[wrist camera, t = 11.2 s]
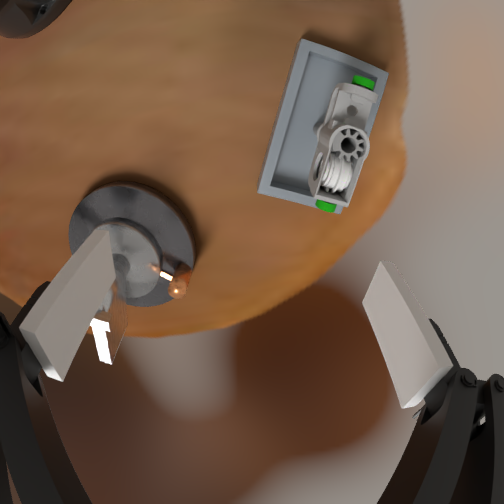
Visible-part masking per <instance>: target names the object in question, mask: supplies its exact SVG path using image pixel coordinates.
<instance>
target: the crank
mask: <svg viewBox="0 0 504 504" xmlns="http://www.w3.org/2000/svg"><path fill="white" fill-rule="evenodd" d="M95 229H97V230H107V231H109V236H110V243H111V250H112V257H113V263H114V269H115V275H116V278H115V280H114V282H113V284H112V285H111V287H110V289H109V290H108V292H107V294H106V296H105V298H104V299H103V301H102V303H101V305H100V307H99V308H98V310H97V312H96V314H95V316H94V318H93V320H92V322H91V323H90V326H92V329H93V333H94V338H95V342H96V346H97V350H98V354H99V358H100V361H103V362H106V363H110V364H112V362H113V360H114V357H115V355H116V352H117V349H118V347H119V344H120V342H121V339H122V337H123V335H124V332H125V330H126V327H127V325H128V322H127V308H126V298H137V297H141V296H144V295H146V294H148V293H149V292H150V291H152V290H153V288H154V287H155V286H156V284H157V282H158V279H159V277H160V274H161V272H162V269H163V254H162V250H161V247H160V245H159V243H158V241H157V240H156V238H155V237H154V236H153V235H152V233H151V232H150V231H149V230H147V229H146V228H145V227H144V226H142V225H141V224H139V223H137V222H135V221H133V220H131V219H127V218H121V217H114V218H109V219H106V220H104V221H102V222H100V223H99V224H98V225H97V226H96V227H95V228H94V229H93V230H92V231H91V232H90V233H89V235H88V236H87V237H86V239H87V238H88V237H89V236H90V235H91V234H92V233H93V231H94V230H95ZM86 239H85V240H86ZM84 242H85V241H84Z"/></svg>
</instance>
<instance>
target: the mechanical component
mask: <svg viewBox="0 0 504 504" xmlns="http://www.w3.org/2000/svg"><path fill="white" fill-rule="evenodd" d="M374 84H375V82H373V81H372V80H370V79H367V78H364V77H361V76H357V75H354V76H353V79H352V83H351V84H349V83H338V84H337V85H336V86H335V88H334V90H333V92H332V95H331V98H330V102H329V105H328V109H327V112H326V116H325V120H324V123H321V122H319V123H316V124H315V125H314V126H313V132H314V134H315V135H316V136H317V140H318V144H317V148H316V151H315V154H314V158H313V161H312V165H311V168H310V172H309V178H308V184H309V187H310V191H311V193H312V195H313V197H314V198H315V199H317V200H316V203H315V205H316V207H318V208H319V209H321V210H324V211H327V212H335V209H336V206H337V204H338V205H341V206H345V207H348V205H349V203H350V200H351V197H352V194H353V192H354V189H355V186H356V183H357V180H358V177H359V174H360V171H361V168H362V165H363V162H364V160H365V159H366V157H367V156H368V153H369V149H370V143H369V139H368V137H367V133H368V132H366V131H364V130H365V127H366V123H367V120H368V117H369V113H370V110H371V106H372V103H376V102H377V98H378V95H377V94H376V93H374V92H372V91H373V88H374ZM352 163H353V165H352ZM347 186H348V187H347ZM346 187H347V188H346ZM345 188H346V189H345Z"/></svg>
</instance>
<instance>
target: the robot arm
mask: <svg viewBox="0 0 504 504" xmlns="http://www.w3.org/2000/svg"><path fill="white" fill-rule="evenodd" d="M70 1H71V0H0V35H1V36H3V37H6V38H27V37H30V36H32V35H34V34H36V33H38V32H40V31H41V30H43V29H44V28H45V27H47V26H48V25H49V24H50V23H51V22H52V21H54V20H55V19H56V18H57V17H58V16H59V15H60V14H61V12H62V11H63V10H64V9H65V8H66V7H67V5H68V4H69V3H70ZM115 278H116V275H115V269H114V263H113V257H112V250H111V243H110V236H109V231H107V230H97V229H95V230H94V231H93V233H92V234H91V235H90V236H89V237H88V238H87V239H86V240H85V242H84V243H83V244H82V245H81V246H80V247H79V248H78V250H77V251H76V252H75V253H74V254H73V255H72V257H71V258H70V259H69V260H68V262H67V263H66V264H65V265H64V266H63V268H62V269H61V270H60V271H59V273H58V274H57V275H56V276H55V278H54V279H53V280H52V282H49V281H46V282H45V283H43V284H42V285H41V286H39V287H38V288H37V289H36V290H35V292H34V293H33V294H32V296H31V298H29V300H28V301H27V302H26V305H24V307H23V308H22V309H21V311H20V312H19V314H18V315H17V317H16V318H15V320H14V321H13V322H12V324H11V325H9V323H8V321H7V320H6V318H5V316H4V314H2V313H1V312H0V504H13V501H12V496H11V492H10V485H9V479H8V472H7V465H8V468H9V471H10V474H11V477H12V480H13V483H14V485H15V488H16V491H17V493H18V496H19V498H20V501H21V503H22V504H92V502H91V500H90V499H89V497H88V495H87V493H86V492H85V490H84V488H83V486H82V484H81V482H80V480H79V478H78V476H77V474H76V472H75V470H74V468H73V466H72V463H71V461H70V459H69V457H68V455H67V452H66V450H65V447H64V445H63V443H62V440H61V438H60V435H59V432H58V430H57V427H56V424H55V421H54V419H53V416H52V413H51V410H50V406H49V403H48V400H47V397H46V393H45V390H44V386H43V382H42V379H41V377H40V375H39V372H40V370H41V368H43V370H44V371H45V373H46V374H47V376H49V377H51V378H54V379H57V380H59V381H63V380H64V377H65V375H66V373H67V371H68V369H69V366H70V364H71V362H72V360H73V358H74V356H75V354H76V351H77V349H78V347H79V345H80V343H81V341H82V339H83V337H84V335H85V333H86V331H87V329H88V327H89V325H90V323H91V322H92V320H93V318H94V316H95V314H96V312H97V310H98V308H99V307H100V305H101V303H102V301H103V299H104V298H105V296H106V294H107V292H108V290H109V289H110V287H111V285H112V284H113V282H114V280H115ZM362 303H363V306H364V308H365V311H366V313H367V315H368V318H369V320H370V322H371V325H372V328H373V330H374V333H375V335H376V338H377V340H378V343H379V345H380V348H381V351H382V353H383V356H384V359H385V361H386V364H387V367H388V369H389V372H390V375H391V378H392V380H393V384H394V386H395V389H396V392H397V395H398V398H399V401H400V404H401V407H402V408H407V407H413V406H416V405H417V404H418V403H419V402H420V401H421V400H422V399H423V398H424V400H425V402H426V404H425V405H424V406H423V407H422V408H421V409H420V410H419V411H418V412H416V413H415V414H414V416H413V418H415V417H417V416H418V415H419V414H420V415H419V417H418V419H417V423H416V426H415V428H414V431H413V433H412V435H411V437H410V440H409V442H408V444H407V447H406V449H405V451H404V453H403V455H402V458H401V460H400V462H399V464H398V466H397V468H396V470H395V472H394V474H393V476H392V478H391V479H390V481H389V483H388V485H387V487H386V489H385V491H384V492H383V494H382V496H381V497H380V499H379V501H378V502H377V504H504V378H503V377H502V376H500V375H499V374H493V375H492V376H491V377H490V378H489V379H488V380H487V381H482V380H477V378H476V376H475V375H474V373H473V372H471V371H470V370H469V369H466V368H461V367H460V365H459V363H458V361H457V359H456V358H455V356H454V354H453V352H452V350H451V348H450V346H449V344H447V341H446V339H445V337H443V333H442V332H441V330H440V328H439V327H438V325H437V324H435V322H434V321H433V320H432V319H428V317H427V316H426V314H425V312H424V311H423V309H422V307H421V306H420V304H419V302H418V301H417V299H416V297H415V296H414V294H413V293H412V291H411V289H410V288H409V286H408V285H407V283H406V281H405V280H404V278H403V277H402V275H401V274H400V272H399V271H398V269H397V268H396V266H395V265H394V263H393V262H389V261H380V263H379V265H378V268H377V270H376V273H375V275H374V277H373V279H372V282H371V284H370V286H369V289H368V291H367V293H366V295H365V298H364V300H363V302H362ZM484 416H485V421H486V422H484V423H483V424H482V425H480V419H482V418H483V417H484ZM6 462H7V465H6Z"/></svg>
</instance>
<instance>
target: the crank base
mask: <svg viewBox="0 0 504 504" xmlns="http://www.w3.org/2000/svg"><path fill="white" fill-rule="evenodd" d="M114 217H121V218H127V219H131V220H133V221H135V222H137V223H139V224H141V225H142V226H144V227H145V228H146V229H147V230H149V231H150V232H151V233H152V235H153V236H154V237H155V238H156V240H157V241H158V243H159V245H160V247H161V250H162V254H163V269H162V272H161V274H160V277H159V279H158V282H157V284H156V286H155V287H154V288H153V290H152V291H150V292H149V293H148V294H146V295H144V296H141V297H137V298H126V304H128V305H132V306H140V307H149V306H156V305H160V304H163V303H166V302H168V301H170V300H172V299H174V298H176V299H181V298H183V297H184V296H185V294H186V291H187V287H188V284H189V280H190V277H191V273H192V270H193V267H194V263H195V257H196V245H195V240H194V235H193V232H192V229H191V227H190V225H189V223H188V221H187V219H186V217H185V216H184V214H183V213H182V212H181V210H180V209H179V208H178V207H177V206H176V204H174V203H173V202H172V201H171V200H170V199H169V198H168V197H166V196H165V195H164V194H162V193H161V192H159V191H157V190H155V189H154V188H152V187H149V186H147V185H144V184H140V183H136V182H129V181H117V182H112V183H108V184H106V185H103V186H101V187H99V188H97V189H96V190H94V191H93V192H92V193H90V194H89V195H88V196H87V197H85V198H84V199H83V200H82V201H81V202H80V203H79V205H78V206H77V207H76V209H75V211H74V213H73V215H72V217H71V221H70V225H69V243H70V249H71V252H72V255H73V254H74V253H75V252H76V251H77V250H78V248H79V247H80V246H81V245H82V244H83V243H84V241H85V239H86V237H87V236H88V235H89V233H90V232H91V231H92V230H93V229H94V228H95V227H96V226H97V225H98V224H99V223H100V222H102V221H104V220H106V219H109V218H114Z"/></svg>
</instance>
